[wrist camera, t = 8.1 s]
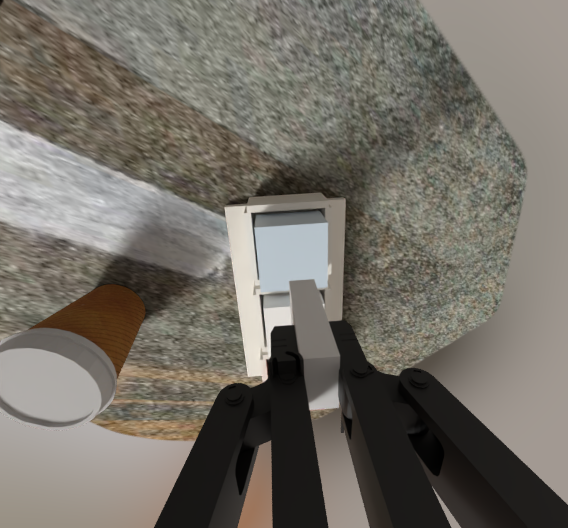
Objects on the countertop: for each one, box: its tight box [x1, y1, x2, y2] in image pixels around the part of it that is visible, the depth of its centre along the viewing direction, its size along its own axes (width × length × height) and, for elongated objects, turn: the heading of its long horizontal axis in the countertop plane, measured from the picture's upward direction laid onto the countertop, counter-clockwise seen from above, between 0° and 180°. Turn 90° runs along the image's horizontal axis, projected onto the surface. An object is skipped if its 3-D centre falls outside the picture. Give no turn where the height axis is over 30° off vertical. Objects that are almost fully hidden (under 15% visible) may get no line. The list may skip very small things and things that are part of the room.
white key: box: [263, 290, 325, 357], centre depth 29 cm, size 6×6×4 cm
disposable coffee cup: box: [0, 284, 145, 430], centre depth 27 cm, size 10×10×12 cm
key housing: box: [225, 193, 346, 382], centre depth 31 cm, size 24×12×5 cm, turn 3°
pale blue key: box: [254, 211, 328, 292], centre depth 25 cm, size 6×6×4 cm
